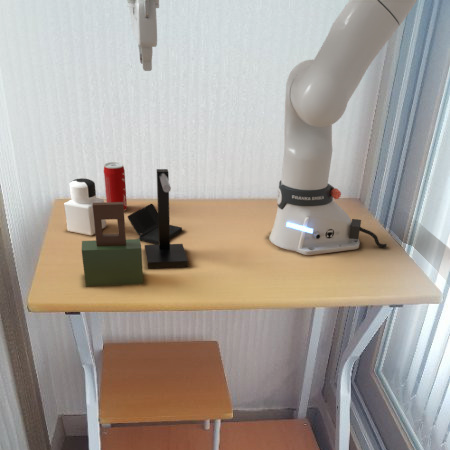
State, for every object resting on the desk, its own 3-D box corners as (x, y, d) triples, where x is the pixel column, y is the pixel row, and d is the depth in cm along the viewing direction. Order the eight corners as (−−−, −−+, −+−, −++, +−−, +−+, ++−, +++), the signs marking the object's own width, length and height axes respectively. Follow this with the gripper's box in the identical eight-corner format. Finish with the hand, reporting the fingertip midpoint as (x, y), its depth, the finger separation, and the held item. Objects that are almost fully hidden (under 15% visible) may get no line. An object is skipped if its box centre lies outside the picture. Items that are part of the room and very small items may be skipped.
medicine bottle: (82, 222, 151) (77, 174, 144) (106, 226, 150) (102, 178, 142) (67, 231, 146) (60, 182, 139) (91, 236, 144) (86, 187, 137)
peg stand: (182, 249, 140) (182, 167, 128) (188, 269, 131) (188, 183, 120) (144, 250, 138) (140, 167, 127) (148, 271, 130) (144, 183, 118)
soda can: (128, 212, 158) (125, 166, 151) (107, 213, 157) (103, 167, 150) (126, 205, 163) (123, 160, 156) (106, 206, 162) (102, 161, 154)
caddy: (141, 273, 128) (137, 198, 118) (143, 283, 124) (139, 207, 114) (86, 276, 126) (77, 199, 116) (85, 286, 122) (76, 208, 113)
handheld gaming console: (168, 239, 140) (145, 201, 137) (146, 254, 143) (123, 217, 141) (185, 230, 150) (164, 194, 147) (164, 243, 153) (143, 209, 151)
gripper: (163, -10, 107) (165, 75, 116) (154, -15, 123) (156, 60, 132) (129, -12, 106) (133, 74, 115) (124, -16, 122) (128, 59, 131)
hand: (145, 66), depth 123 cm, fingers open, 8 cm apart
